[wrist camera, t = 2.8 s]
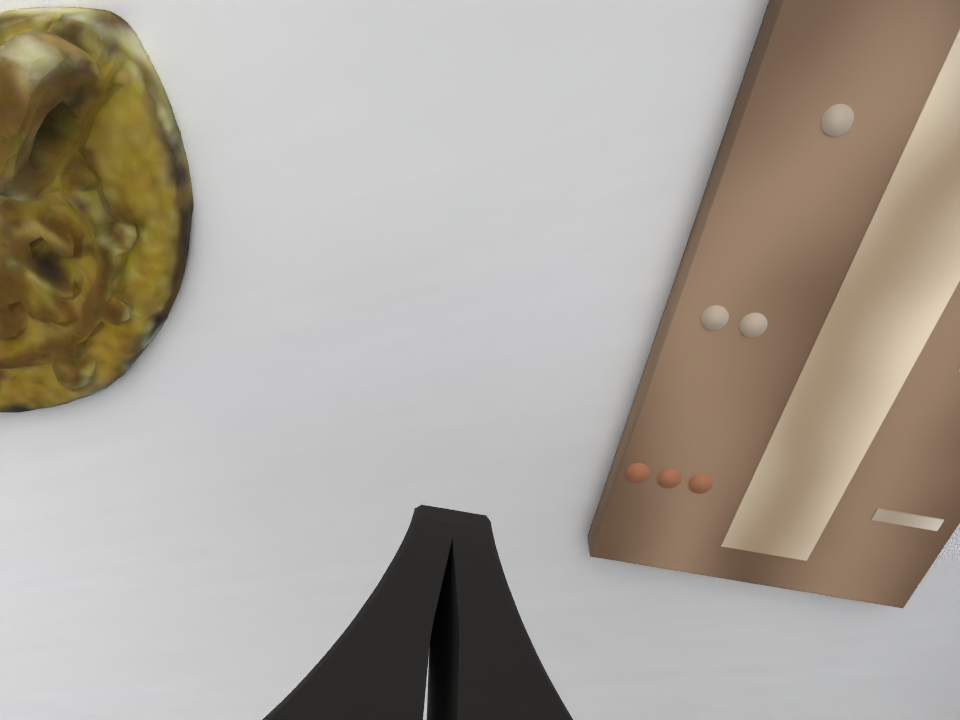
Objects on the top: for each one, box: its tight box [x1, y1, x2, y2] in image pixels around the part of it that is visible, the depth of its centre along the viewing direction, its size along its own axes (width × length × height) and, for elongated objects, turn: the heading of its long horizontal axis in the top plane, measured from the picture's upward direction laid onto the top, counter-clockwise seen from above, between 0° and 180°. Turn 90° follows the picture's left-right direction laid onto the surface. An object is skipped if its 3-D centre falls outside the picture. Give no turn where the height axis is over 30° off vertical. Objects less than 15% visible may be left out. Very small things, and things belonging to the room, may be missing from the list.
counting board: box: [588, 0, 960, 608], centre depth 20 cm, size 12×26×1 cm, turn 170°
